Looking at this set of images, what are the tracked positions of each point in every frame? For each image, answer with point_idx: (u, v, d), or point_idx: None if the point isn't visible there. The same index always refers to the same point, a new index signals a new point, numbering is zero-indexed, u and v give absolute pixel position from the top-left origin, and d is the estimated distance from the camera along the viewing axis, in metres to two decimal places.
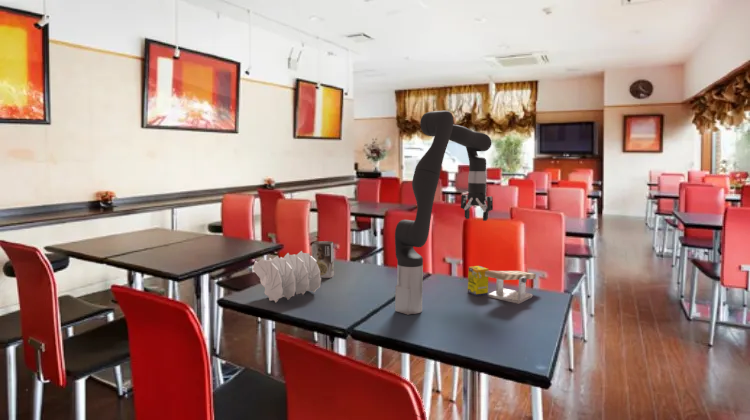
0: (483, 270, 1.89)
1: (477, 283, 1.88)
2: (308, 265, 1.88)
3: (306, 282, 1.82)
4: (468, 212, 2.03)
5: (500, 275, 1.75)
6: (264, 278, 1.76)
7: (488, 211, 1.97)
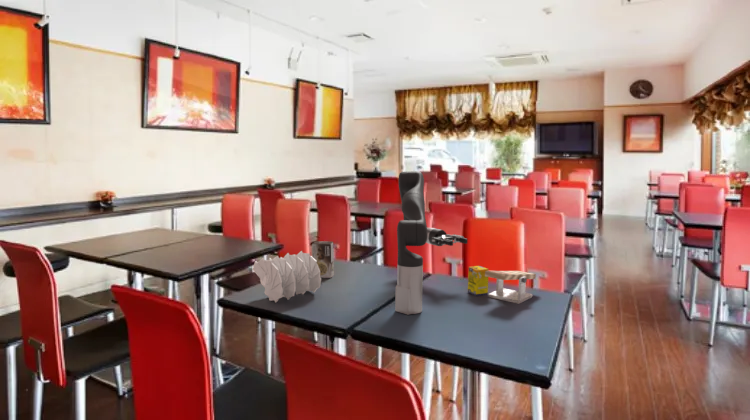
0: (483, 270, 1.89)
1: (477, 283, 1.88)
2: (308, 265, 1.88)
3: (306, 282, 1.82)
4: None
5: (500, 275, 1.75)
6: (264, 278, 1.76)
7: None
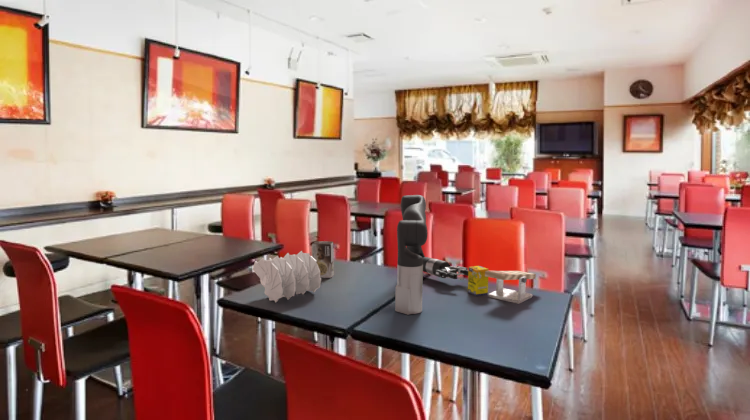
0: (483, 270, 1.89)
1: (477, 283, 1.88)
2: (308, 265, 1.88)
3: (306, 282, 1.82)
4: None
5: (500, 275, 1.75)
6: (264, 278, 1.76)
7: None
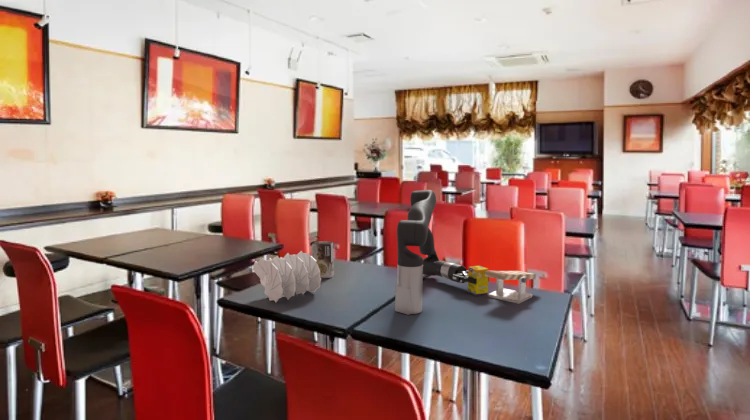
0: (483, 270, 1.89)
1: (477, 283, 1.88)
2: (308, 265, 1.88)
3: (306, 282, 1.82)
4: None
5: (500, 275, 1.75)
6: (264, 278, 1.76)
7: None
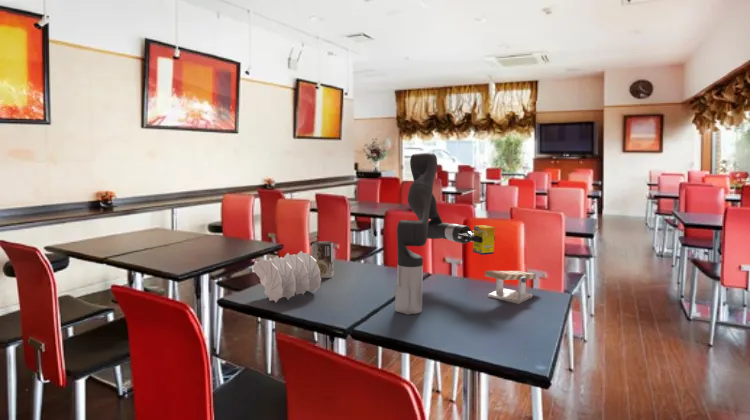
0: (489, 228, 1.84)
1: (483, 241, 1.83)
2: (308, 265, 1.88)
3: (306, 282, 1.82)
4: None
5: (500, 275, 1.75)
6: (264, 278, 1.76)
7: None
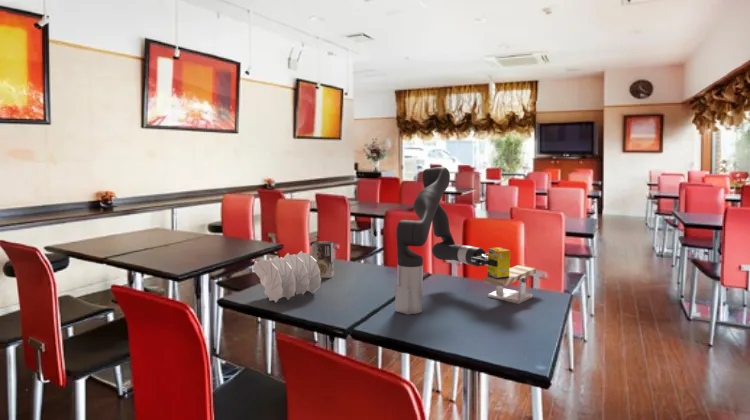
0: (504, 251, 1.75)
1: (498, 265, 1.75)
2: (308, 265, 1.88)
3: (306, 282, 1.82)
4: None
5: (499, 282, 1.75)
6: (264, 278, 1.76)
7: None
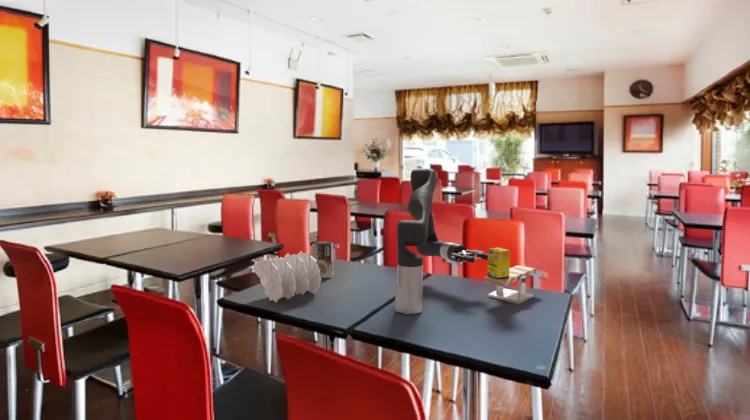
0: (504, 251, 1.75)
1: (498, 265, 1.75)
2: (308, 265, 1.88)
3: (306, 282, 1.82)
4: None
5: (499, 282, 1.75)
6: (264, 278, 1.76)
7: None
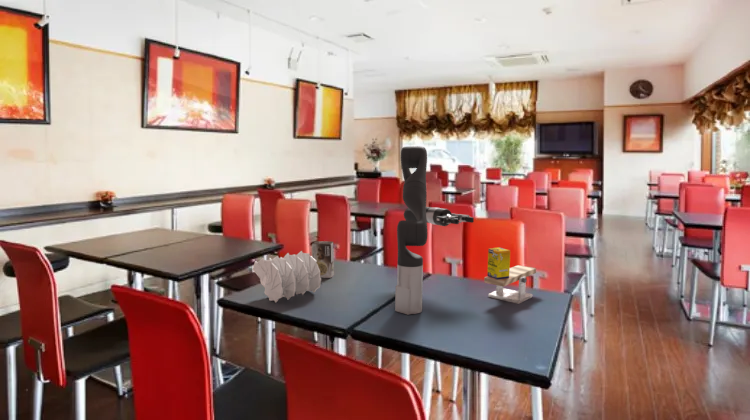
0: (504, 251, 1.75)
1: (498, 265, 1.75)
2: (308, 265, 1.88)
3: (306, 282, 1.82)
4: None
5: (499, 282, 1.75)
6: (264, 278, 1.76)
7: None
